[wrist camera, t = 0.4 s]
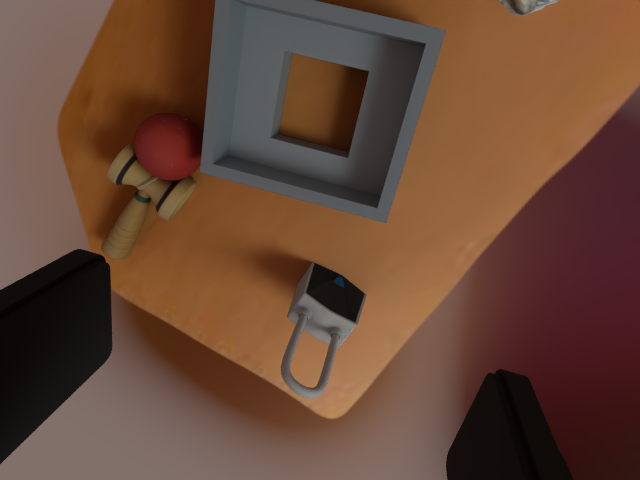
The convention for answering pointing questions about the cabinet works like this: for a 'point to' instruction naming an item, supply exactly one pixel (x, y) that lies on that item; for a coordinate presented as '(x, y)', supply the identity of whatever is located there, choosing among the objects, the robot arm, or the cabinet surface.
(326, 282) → the padlock
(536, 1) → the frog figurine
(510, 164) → the cabinet surface
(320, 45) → the peg box
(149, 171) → the kendama
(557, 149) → the cabinet surface
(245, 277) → the cabinet surface
